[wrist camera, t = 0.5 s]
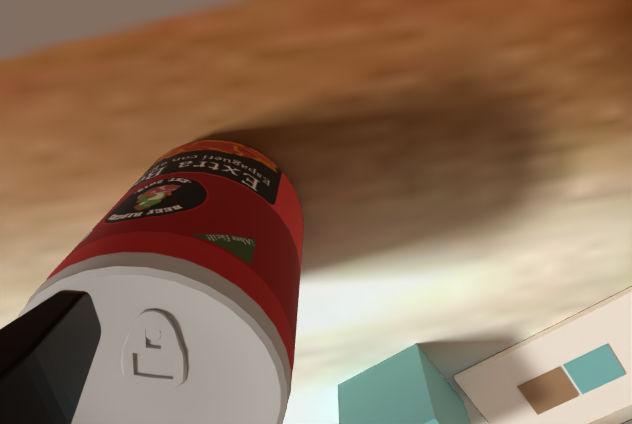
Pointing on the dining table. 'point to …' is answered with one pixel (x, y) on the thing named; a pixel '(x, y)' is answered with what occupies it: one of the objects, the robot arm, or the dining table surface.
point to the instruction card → (560, 370)
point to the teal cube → (400, 393)
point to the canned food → (192, 292)
